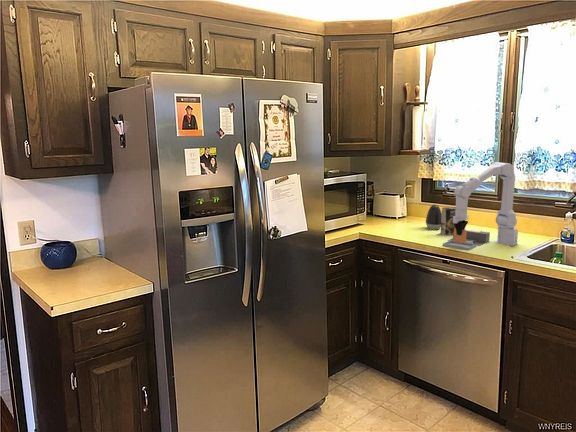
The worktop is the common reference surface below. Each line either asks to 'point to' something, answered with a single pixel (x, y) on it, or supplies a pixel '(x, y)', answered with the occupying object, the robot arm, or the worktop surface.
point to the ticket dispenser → (476, 237)
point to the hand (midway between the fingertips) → (460, 234)
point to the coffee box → (447, 221)
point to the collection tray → (460, 245)
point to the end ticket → (460, 237)
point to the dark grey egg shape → (434, 217)
